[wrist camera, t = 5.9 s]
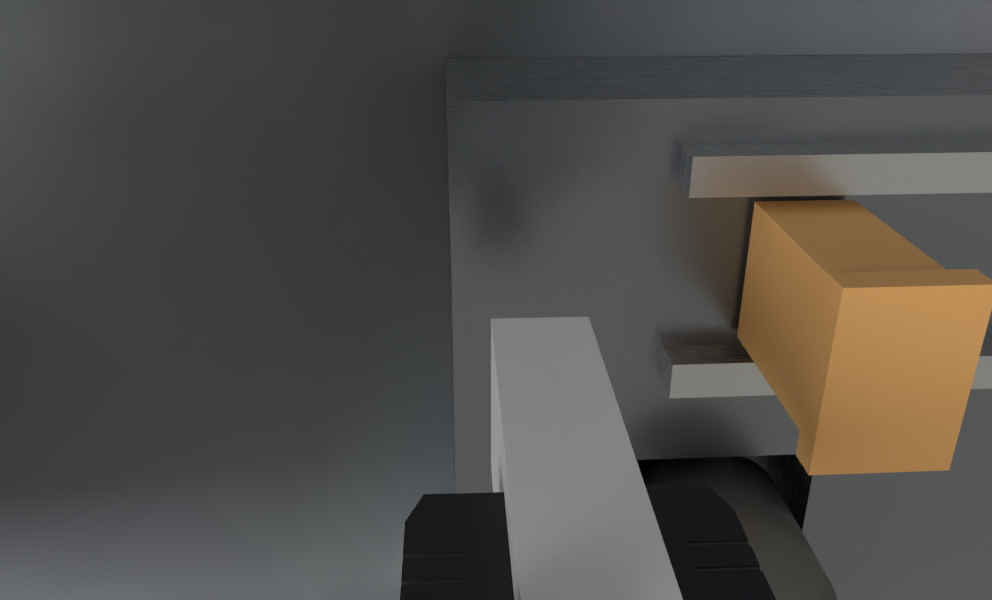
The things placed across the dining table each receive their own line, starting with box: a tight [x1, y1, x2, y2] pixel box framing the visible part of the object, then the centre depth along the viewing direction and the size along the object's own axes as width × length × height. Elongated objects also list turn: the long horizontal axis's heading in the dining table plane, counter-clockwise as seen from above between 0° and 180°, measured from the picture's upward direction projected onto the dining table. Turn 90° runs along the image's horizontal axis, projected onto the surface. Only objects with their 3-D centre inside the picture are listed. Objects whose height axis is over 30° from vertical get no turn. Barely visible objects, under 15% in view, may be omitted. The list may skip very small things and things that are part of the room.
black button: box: [642, 456, 837, 600], centre depth 20 cm, size 4×4×4 cm
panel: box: [446, 54, 992, 600], centre depth 22 cm, size 24×14×5 cm, turn 90°
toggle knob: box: [737, 200, 992, 475], centre depth 16 cm, size 2×3×5 cm
